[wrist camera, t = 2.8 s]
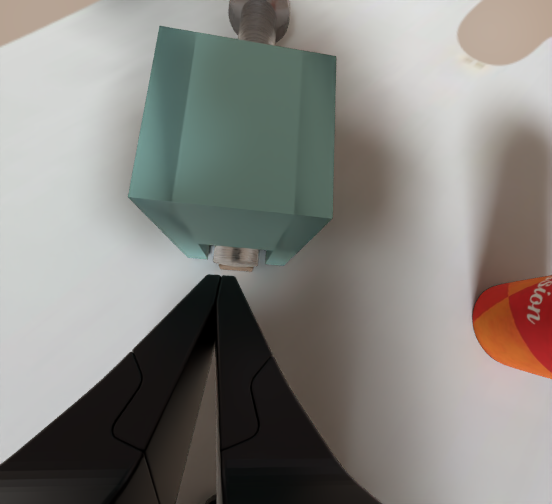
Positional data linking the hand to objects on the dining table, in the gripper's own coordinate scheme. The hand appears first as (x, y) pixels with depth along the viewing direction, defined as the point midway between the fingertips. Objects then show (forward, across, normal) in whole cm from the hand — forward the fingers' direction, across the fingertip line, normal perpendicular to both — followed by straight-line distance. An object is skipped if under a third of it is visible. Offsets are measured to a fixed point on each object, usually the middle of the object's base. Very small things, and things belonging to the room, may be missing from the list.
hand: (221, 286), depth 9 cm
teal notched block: (+10, 0, +3) cm, 10 cm away
